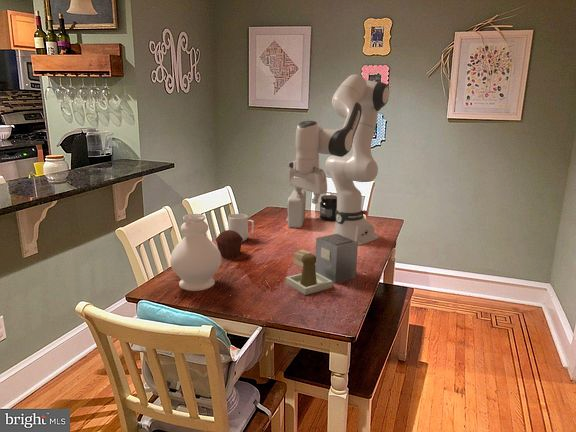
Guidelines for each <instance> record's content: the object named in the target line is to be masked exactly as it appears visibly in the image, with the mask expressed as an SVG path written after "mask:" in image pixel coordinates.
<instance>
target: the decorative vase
mask: <svg viewBox="0 0 576 432" xmlns="http://www.w3.org/2000/svg"><path fill="white" fill-rule="evenodd" d="M182 217H183V218H182V220H183V221H184V222H183V223H182V224H181V226H180V231H181V233H182V234H183V235H185V236H184V237H183V238H182V239H181V240H180V241H179V242H178V243H177V244H176V246H175V247H174V248H173V250H172V252H171V254H170V259H169V260H170V261H169V262H170V263H169V264H170V267H171V269H172V271H173V272H174V273H175V274H176V275H177V276H178V277H179V278H180V279H181V280H180V281H179V282H178V284H179V285H178V286H179V287H180V289H182V290H185V291H190V292H196V291H197V292H198V291H204V290H208V289H210V288H212V287H213V286H214V285H215V284H216V281H215V279H214V278H213V276H214V275H215V274H216V272H217V271H219V268H220V267H221V264H222V256H221V254H220V251H219V249H218V246H217V245H216V244H215V243H214V242H213V241H212V240H211V239H210V238H209V237H208V236H206V235H205V234H206V233H208V231H209V225H208V223H207V222H206V221H204V220H206V215H204V214H202V213H188V214H186V215H183V216H182Z"/></svg>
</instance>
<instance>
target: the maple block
mask: <svg viewBox="0 0 576 432" xmlns="http://www.w3.org/2000/svg"><path fill="white" fill-rule="evenodd" d="M304 254H312V252H311V251H307V250H305V249H304V250H303V249H300V250H297V251H294V252H293V260H292V261H293V264H292V265H294V266H297V267H301V268H303V263H302V256H303V255H304Z"/></svg>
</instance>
